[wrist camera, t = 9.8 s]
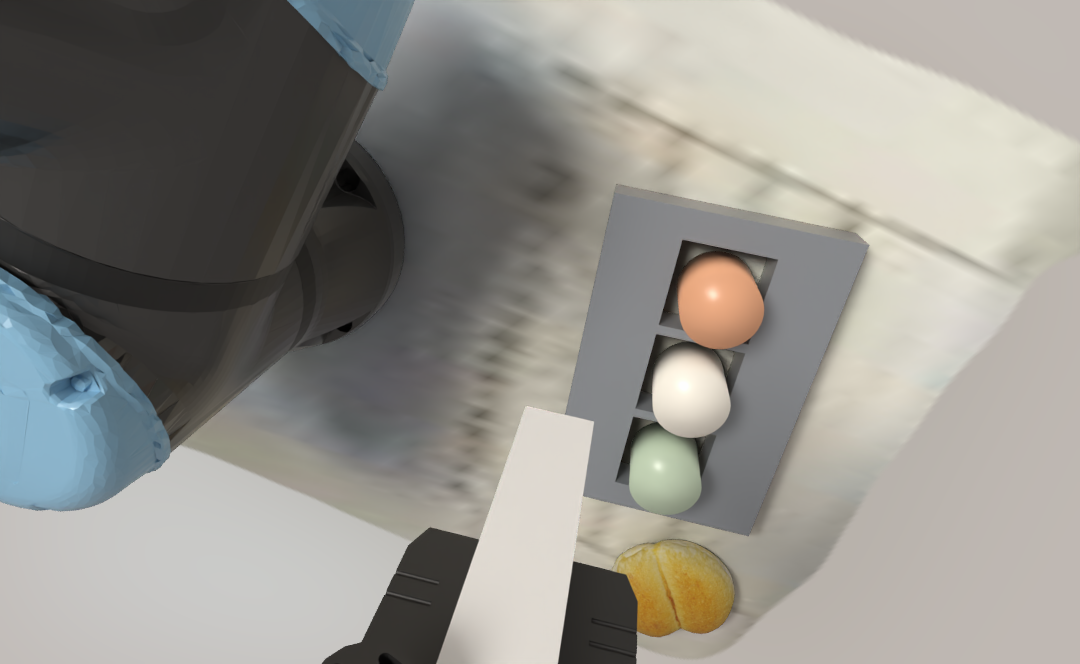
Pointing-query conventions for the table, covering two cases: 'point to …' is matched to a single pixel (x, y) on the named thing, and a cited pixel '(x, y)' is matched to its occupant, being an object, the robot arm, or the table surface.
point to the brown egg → (719, 300)
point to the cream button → (689, 390)
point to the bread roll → (677, 587)
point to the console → (637, 316)
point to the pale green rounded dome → (664, 471)
